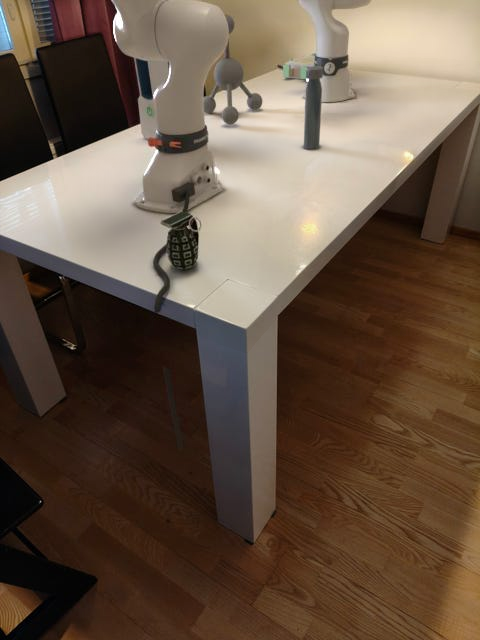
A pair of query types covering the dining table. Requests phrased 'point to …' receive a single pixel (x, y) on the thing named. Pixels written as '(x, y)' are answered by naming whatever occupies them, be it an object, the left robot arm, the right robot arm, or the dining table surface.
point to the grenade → (182, 240)
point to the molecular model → (230, 84)
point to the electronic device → (149, 92)
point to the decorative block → (298, 67)
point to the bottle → (312, 114)
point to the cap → (314, 72)
